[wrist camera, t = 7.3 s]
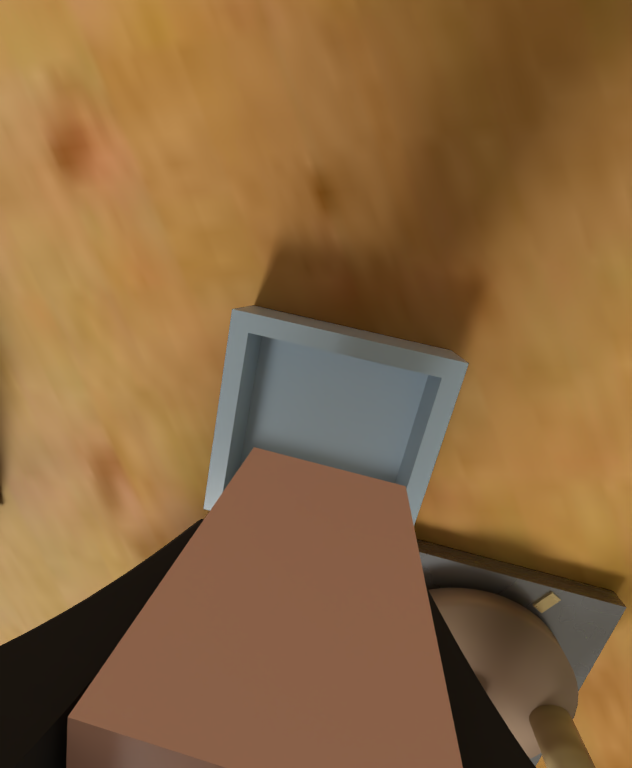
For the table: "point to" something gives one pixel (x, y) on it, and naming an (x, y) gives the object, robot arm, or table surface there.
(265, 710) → the block
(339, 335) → the tray
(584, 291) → the table surface
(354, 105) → the table surface
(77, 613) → the robot arm
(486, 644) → the crank
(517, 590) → the crank base
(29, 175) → the table surface
